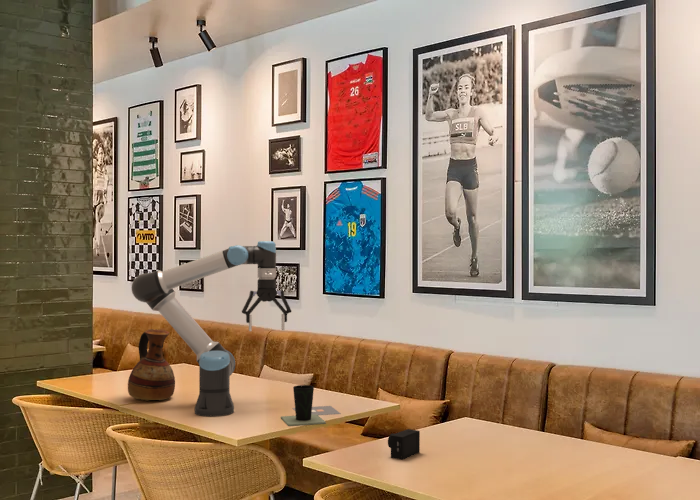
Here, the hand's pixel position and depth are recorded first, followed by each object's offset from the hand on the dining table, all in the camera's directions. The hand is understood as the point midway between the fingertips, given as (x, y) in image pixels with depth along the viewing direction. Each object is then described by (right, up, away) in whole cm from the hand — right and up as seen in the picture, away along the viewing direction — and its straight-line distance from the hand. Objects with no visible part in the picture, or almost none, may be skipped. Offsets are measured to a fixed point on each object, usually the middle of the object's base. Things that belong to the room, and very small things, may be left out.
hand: (266, 330), depth 307 cm
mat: (+17, -31, -29) cm, 45 cm away
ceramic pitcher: (-51, -31, +13) cm, 61 cm away
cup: (+17, -30, -29) cm, 45 cm away
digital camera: (+51, -30, -76) cm, 96 cm away
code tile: (+21, -31, -11) cm, 39 cm away
